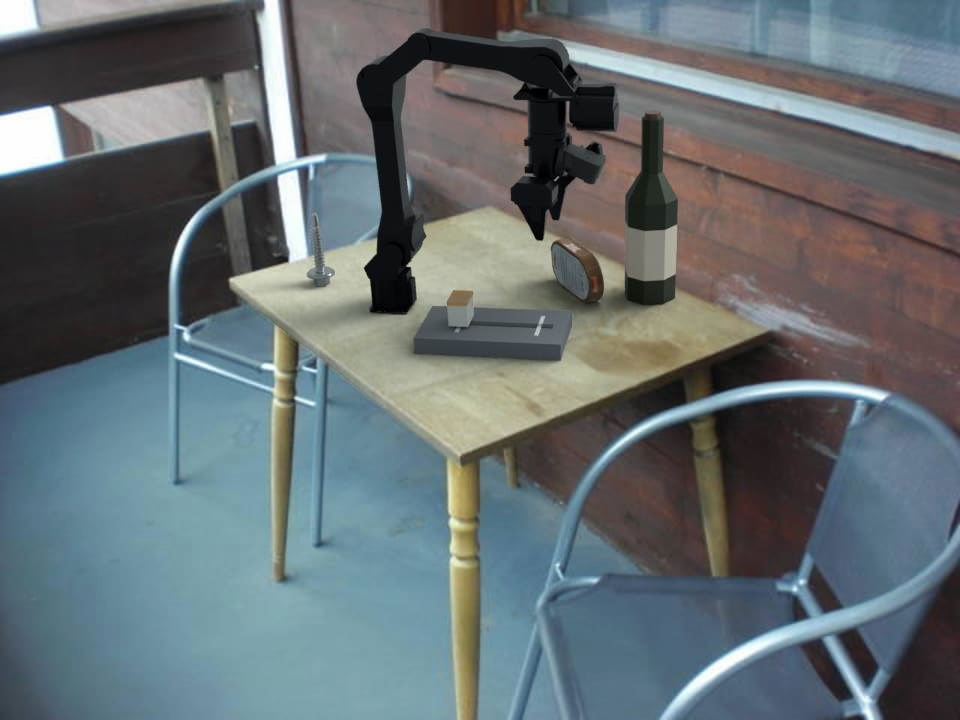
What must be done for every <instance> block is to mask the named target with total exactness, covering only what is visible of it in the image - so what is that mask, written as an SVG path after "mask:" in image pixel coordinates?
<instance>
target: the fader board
mask: <svg viewBox="0 0 960 720" xmlns="http://www.w3.org/2000/svg"><path fill="white" fill-rule="evenodd" d="M572 316H573V314H572V310H554V309H553V310H551V309H549V310H548V309H530V308H529V309H527V308H525V309H524V308H506V307H505V308H503V307H477V306H476V307H475V306H474V316H473V318H472V320H471V322H470V324H469V326H468V327H456V326H448V311H447V305H431V308H430V309H429V311H428V312H427V314H426V316H425V317H424V319H423V320H422V321H423V322H422V323H421V324H420V326H419V328H418V330H417V331H416V333H415V335H414V336H413V338H412V339H413V351H414V354H421V355H423V354H425V355H444V356H445V355H446V356H464V357H465V356H466V357H488V358H490V357H491V358H510V359H527V360H528V359H529V360H530V359H531V360H548V361H550V360H552V361H562V358H563V355H564V352H565V349H566V345H567V341H568V340H569V336H570V333H571V329H572V327H573V324H572V322H573V321H572V320H573V318H572Z"/></svg>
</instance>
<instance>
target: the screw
mask: <svg viewBox="0 0 960 720" xmlns="http://www.w3.org/2000/svg"><path fill="white" fill-rule="evenodd" d="M309 229H310V233H311V234H310V236H311V238H310V239H311V243H312V244H311V246H312V248H311V249H313V250H312V252H313V254H312V255H313V259H314V260H313V262H314V264H313V265H314V267H313V268H310V269H309V270H308V271H307V272H306V277H307V278H308V279H311V280H313V285H314V286H316V287H318V288H319V287H320V288H321V287H326V286H328V285H329V284H331V279H330V278H332V277H334V276H335V275H336V271H335V269H334V268H333V267H330V266H326V264H325V263H326V261H325V259H326V258H325V254H324V252H325V251H324V244H323V243H324V241H322V240H323V238H322V236H323V234H322V228H321V224H320V223H319V216H318V213H316V212H315V211H313V212H312V213H311V214H310V228H309Z"/></svg>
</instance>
